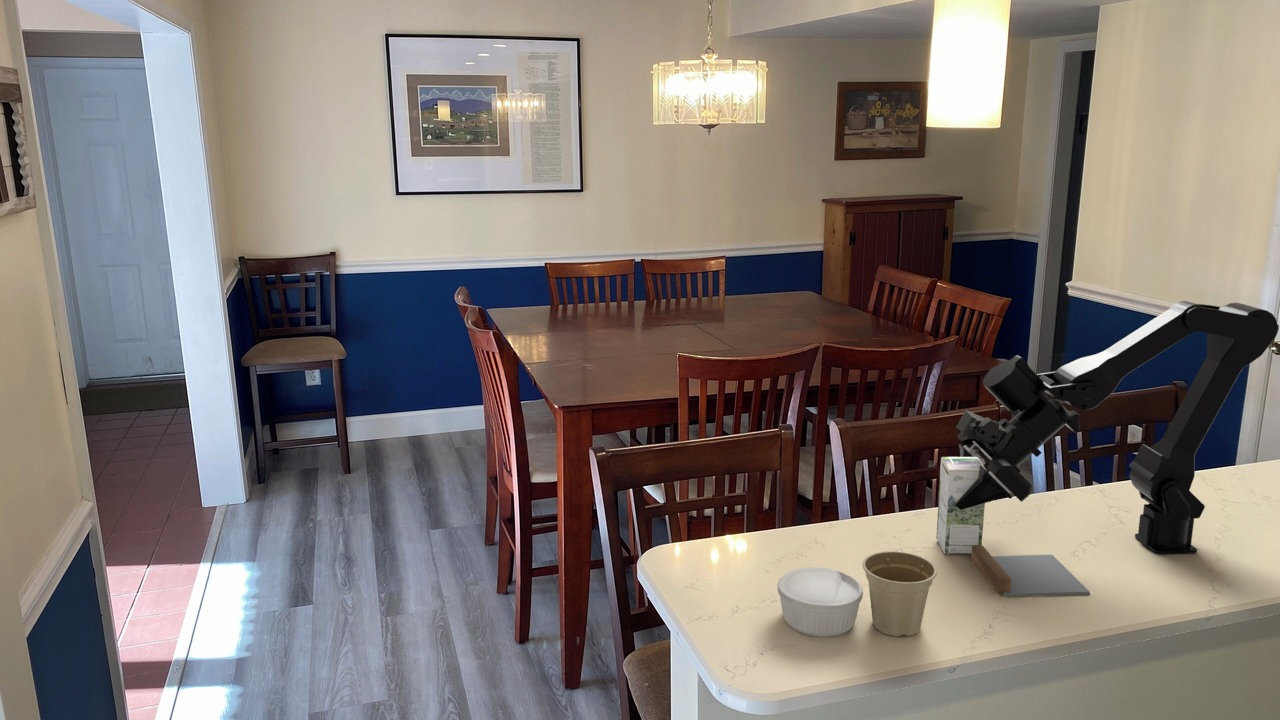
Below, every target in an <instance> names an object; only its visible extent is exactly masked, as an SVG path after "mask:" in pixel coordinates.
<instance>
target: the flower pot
mask: <svg viewBox="0 0 1280 720" xmlns="http://www.w3.org/2000/svg"><path fill="white" fill-rule="evenodd" d="M862 568H863V570H864V572H865V578H866V580H867V581H868V589H869V599H870V600H869V601H870V609H871V618H872V620H871V621H872V623H873V625H874V627H875V629H876V630H878V632H881V633H883V634H886V635H887V636H888V635H889V636H894V637H900V636H903V635H904V636H907V637H911V636H914V635H915V634H917V633H919V632H920V630H921V628H922V622H923V617H924V613H925V608H926V603H927V599H928V595H929V589H930V587H931V586H932V583H933V580H934V579H935V578H936V577H937V573H938V570H937V567H936V565H935V564H934V563H933V562H932V561H931V560H929V559H928V558H926V557H923V556H921V555H918V554H914V553H911V552H906V551H898V550H895V551H894V550H889V551H888V550H886V551H878V552H874V553H872V554H869V555H868V556H866V557H865V558H864V559H863V561H862Z"/></svg>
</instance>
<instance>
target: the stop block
mask: <svg viewBox="0 0 1280 720" xmlns="http://www.w3.org/2000/svg"><path fill="white" fill-rule="evenodd" d="M970 559H971V560H970V561H971V563H973V565H974V566H975V567H976V569H977V571H979V573H980V574H981V575H982V576H983V578H984V579H985V580H986V581H987V583H988V584H989V585H990V586H991V588H993V590H994V591H995V592H996V593H997V595H998V596H1003V592H1010V587H1011V578H1010V577H1009V576H1008V574H1007V573H1006V572H1005V571H1004V570H1003V569H1002V567H1001V566H1000V565H999V564H998V563H997V562H996V560H995V559H994V558H993V557H992V555H991V554H990V552H989V551H988V550H987V549H986V548H985V547H984V545H983V544H982V545H975V546H972V554H971V557H970Z"/></svg>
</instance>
